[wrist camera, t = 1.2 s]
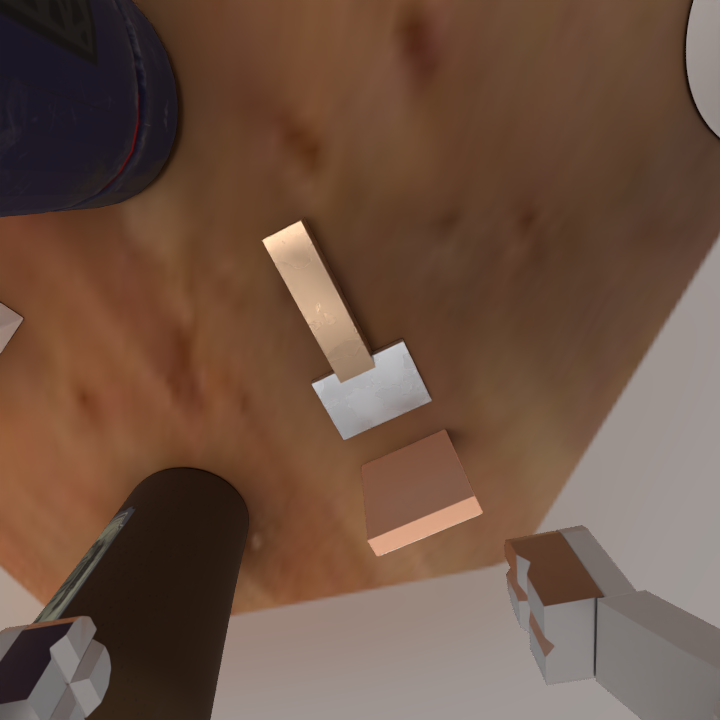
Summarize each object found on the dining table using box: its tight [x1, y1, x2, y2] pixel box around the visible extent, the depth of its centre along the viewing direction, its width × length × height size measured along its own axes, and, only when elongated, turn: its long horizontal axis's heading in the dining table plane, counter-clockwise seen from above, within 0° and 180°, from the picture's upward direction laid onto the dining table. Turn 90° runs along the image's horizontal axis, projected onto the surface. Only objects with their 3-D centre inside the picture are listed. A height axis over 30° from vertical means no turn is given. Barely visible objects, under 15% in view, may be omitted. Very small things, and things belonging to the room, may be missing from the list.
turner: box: [262, 217, 432, 440], centre depth 30 cm, size 7×15×3 cm, turn 26°
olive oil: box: [33, 468, 249, 720], centre depth 25 cm, size 11×11×25 cm
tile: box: [361, 429, 483, 557], centre depth 32 cm, size 7×2×8 cm, turn 116°
